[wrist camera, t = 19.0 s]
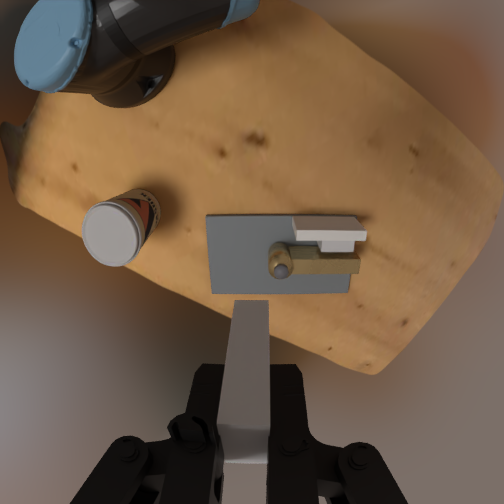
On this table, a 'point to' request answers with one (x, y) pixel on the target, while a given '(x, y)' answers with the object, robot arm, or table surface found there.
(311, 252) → the swing bar
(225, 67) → the table surface
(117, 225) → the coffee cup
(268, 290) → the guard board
